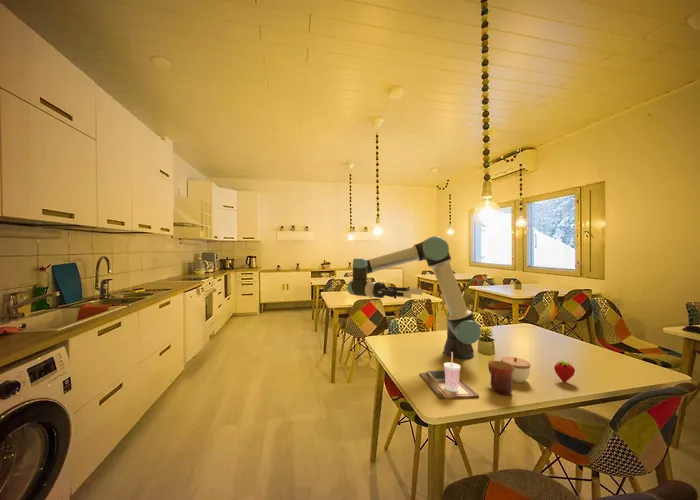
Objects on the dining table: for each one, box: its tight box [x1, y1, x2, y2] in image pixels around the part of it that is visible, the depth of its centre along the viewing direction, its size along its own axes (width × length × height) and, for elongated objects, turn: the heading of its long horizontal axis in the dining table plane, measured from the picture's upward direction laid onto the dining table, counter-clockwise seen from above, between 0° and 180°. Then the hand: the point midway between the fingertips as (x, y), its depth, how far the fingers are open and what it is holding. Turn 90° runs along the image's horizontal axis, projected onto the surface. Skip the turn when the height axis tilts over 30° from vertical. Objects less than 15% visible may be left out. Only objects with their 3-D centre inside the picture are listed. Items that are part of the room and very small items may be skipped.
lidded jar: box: [500, 356, 531, 384], centre depth 118 cm, size 11×11×9 cm
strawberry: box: [553, 358, 576, 383], centre depth 116 cm, size 6×8×10 cm
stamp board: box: [419, 369, 480, 400], centre depth 111 cm, size 15×21×2 cm
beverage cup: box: [443, 352, 462, 392], centre depth 107 cm, size 6×6×14 cm
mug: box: [488, 360, 515, 396], centre depth 108 cm, size 12×9×10 cm
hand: (416, 293), depth 126 cm, fingers open, 13 cm apart
